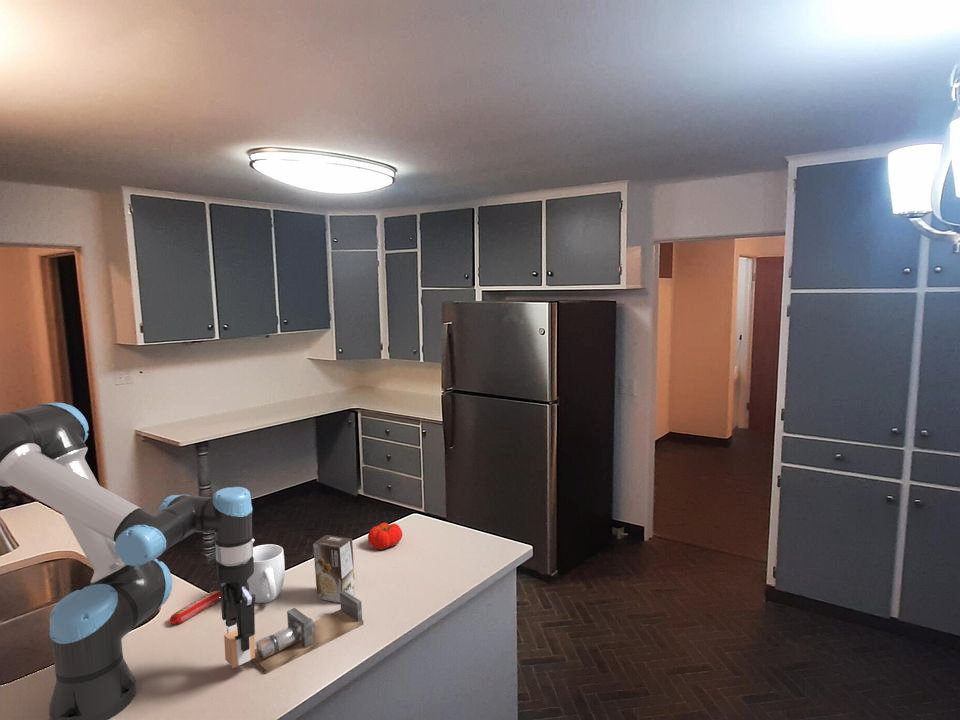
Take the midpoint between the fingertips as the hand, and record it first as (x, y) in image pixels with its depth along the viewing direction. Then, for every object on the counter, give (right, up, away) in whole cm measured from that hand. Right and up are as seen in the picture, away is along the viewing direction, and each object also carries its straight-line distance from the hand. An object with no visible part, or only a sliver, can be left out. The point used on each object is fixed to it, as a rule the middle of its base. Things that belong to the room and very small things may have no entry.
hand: (239, 657), depth 132 cm
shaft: (+8, -1, +8) cm, 11 cm away
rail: (+12, -2, +12) cm, 17 cm away
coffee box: (+14, +1, +32) cm, 35 cm away
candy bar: (-22, -1, +26) cm, 34 cm away
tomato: (+23, +5, +64) cm, 68 cm away
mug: (-5, 0, +31) cm, 32 cm away
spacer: (0, 0, 0) cm, 0 cm away
